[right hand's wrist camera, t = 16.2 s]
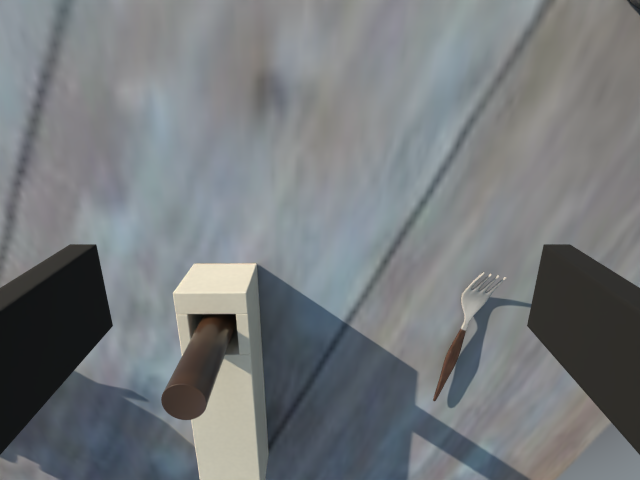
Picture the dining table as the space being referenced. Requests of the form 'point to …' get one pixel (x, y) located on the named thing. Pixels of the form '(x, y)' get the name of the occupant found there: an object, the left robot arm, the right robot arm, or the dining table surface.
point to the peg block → (228, 372)
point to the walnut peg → (199, 367)
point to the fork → (465, 324)
